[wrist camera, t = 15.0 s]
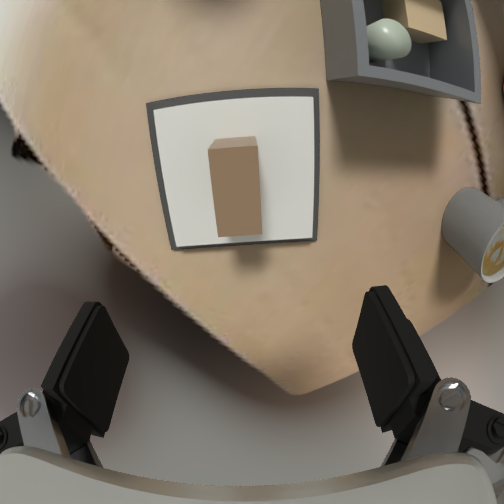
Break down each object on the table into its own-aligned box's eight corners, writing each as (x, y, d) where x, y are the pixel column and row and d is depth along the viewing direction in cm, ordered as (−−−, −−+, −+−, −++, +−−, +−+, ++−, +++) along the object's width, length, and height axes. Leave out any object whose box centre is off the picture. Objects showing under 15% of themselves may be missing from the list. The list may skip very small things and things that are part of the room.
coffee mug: (443, 255, 36) (478, 294, 28) (438, 201, 32) (482, 236, 23) (497, 223, 33) (533, 254, 25) (495, 171, 29) (539, 197, 20)
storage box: (423, -1, 17) (467, -15, 9) (432, 96, 24) (480, 104, 17) (316, -27, 17) (340, -61, 10) (326, 80, 25) (358, 75, 17)
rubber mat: (317, 88, 25) (318, 88, 25) (316, 238, 34) (316, 240, 34) (147, 103, 25) (146, 103, 25) (172, 248, 35) (171, 249, 34)
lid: (310, 96, 25) (330, 96, 19) (310, 233, 33) (324, 266, 27) (156, 109, 25) (131, 114, 19) (178, 241, 34) (164, 276, 28)
